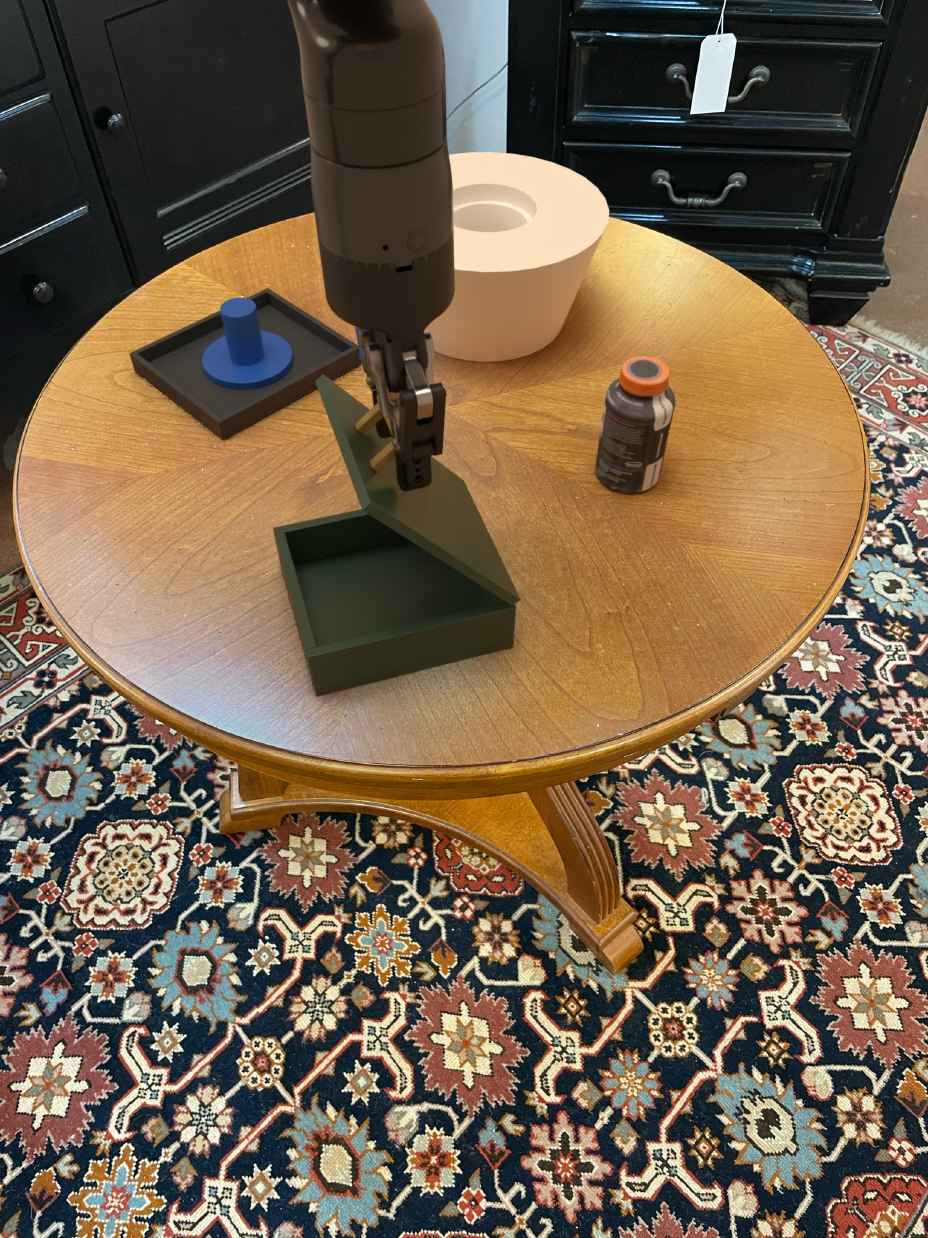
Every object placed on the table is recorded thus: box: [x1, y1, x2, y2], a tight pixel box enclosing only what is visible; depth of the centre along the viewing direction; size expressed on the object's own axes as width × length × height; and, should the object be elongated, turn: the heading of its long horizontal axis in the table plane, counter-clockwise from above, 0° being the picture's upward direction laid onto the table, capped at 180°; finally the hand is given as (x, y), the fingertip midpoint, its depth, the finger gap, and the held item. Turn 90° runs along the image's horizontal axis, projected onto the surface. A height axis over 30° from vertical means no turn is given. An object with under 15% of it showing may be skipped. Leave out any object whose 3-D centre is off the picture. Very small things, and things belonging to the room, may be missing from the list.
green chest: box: [272, 508, 517, 697], centre depth 75 cm, size 16×14×5 cm
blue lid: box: [202, 297, 293, 389], centre depth 94 cm, size 9×9×6 cm
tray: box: [128, 287, 362, 441], centre depth 96 cm, size 17×15×2 cm
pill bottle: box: [594, 355, 676, 494], centre depth 83 cm, size 6×6×11 cm
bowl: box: [424, 151, 610, 363], centre depth 99 cm, size 24×24×12 cm
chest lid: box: [315, 374, 522, 606], centre depth 68 cm, size 16×14×5 cm
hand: (403, 458), depth 65 cm, fingers closed on chest lid, 5 cm apart
